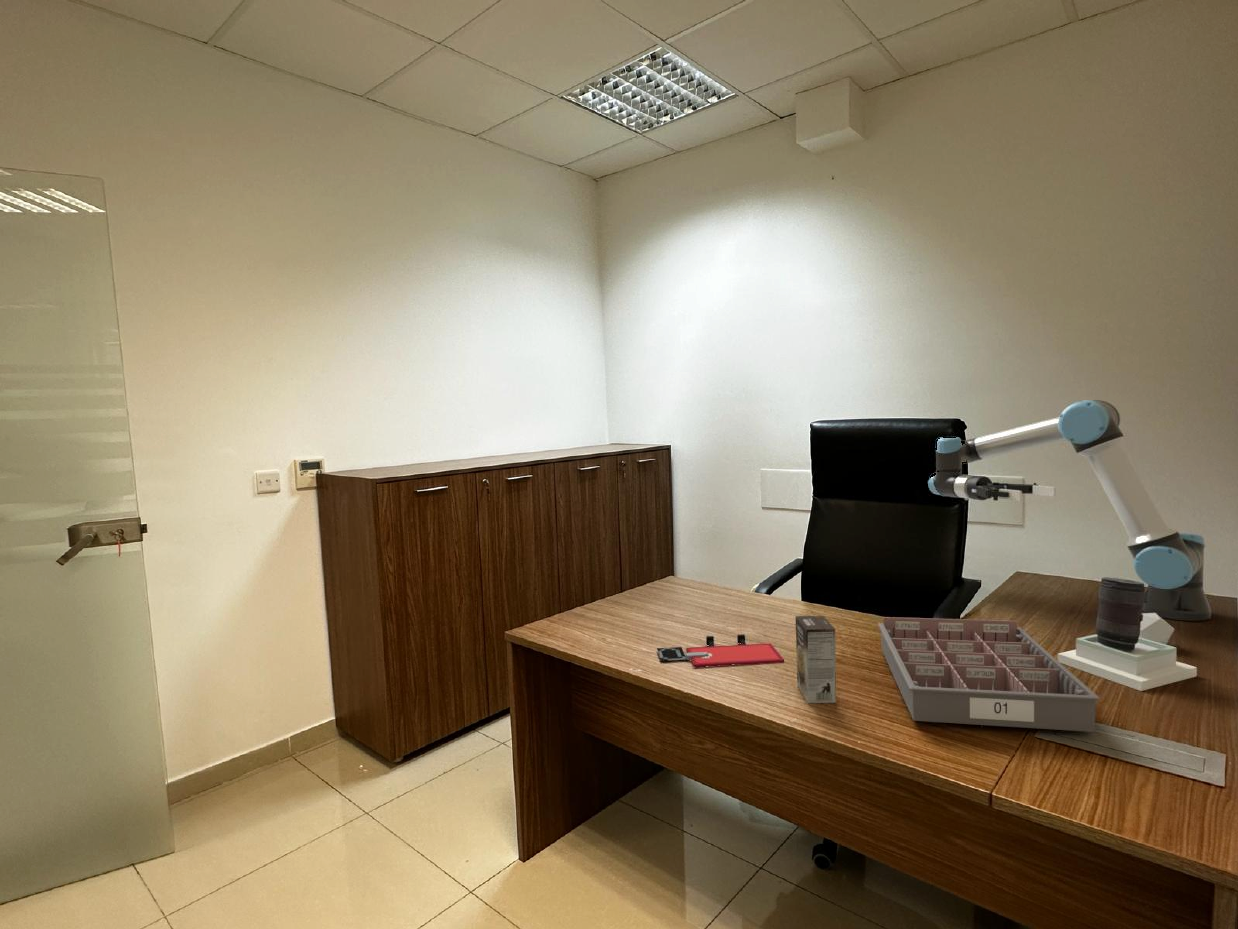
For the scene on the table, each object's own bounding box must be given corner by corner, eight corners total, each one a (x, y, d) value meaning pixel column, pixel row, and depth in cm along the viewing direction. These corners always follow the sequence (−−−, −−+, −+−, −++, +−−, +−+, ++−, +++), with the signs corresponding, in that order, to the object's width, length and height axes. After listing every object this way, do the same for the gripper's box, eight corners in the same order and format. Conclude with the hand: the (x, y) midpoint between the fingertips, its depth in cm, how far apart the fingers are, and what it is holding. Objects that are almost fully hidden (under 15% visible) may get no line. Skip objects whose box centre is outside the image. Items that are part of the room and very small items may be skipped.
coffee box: (796, 686, 146) (794, 615, 145) (825, 685, 146) (823, 614, 145) (806, 704, 137) (804, 629, 136) (837, 703, 137) (836, 628, 136)
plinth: (1110, 649, 159) (1110, 625, 159) (1196, 676, 142) (1197, 649, 142) (1057, 661, 153) (1057, 637, 153) (1140, 691, 136) (1141, 663, 136)
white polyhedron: (1175, 656, 155) (1186, 620, 157) (1139, 638, 156) (1151, 602, 159) (1148, 657, 163) (1159, 622, 165) (1114, 639, 164) (1126, 605, 166)
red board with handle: (655, 649, 173) (663, 671, 158) (655, 638, 173) (663, 660, 158) (766, 643, 175) (784, 665, 160) (766, 633, 175) (784, 654, 160)
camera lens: (1108, 640, 152) (1116, 576, 152) (1146, 651, 145) (1154, 584, 144) (1084, 640, 150) (1092, 575, 149) (1122, 651, 142) (1130, 583, 142)
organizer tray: (910, 729, 125) (909, 679, 124) (877, 653, 164) (877, 615, 163) (1101, 742, 117) (1102, 688, 117) (1020, 659, 156) (1020, 619, 155)
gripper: (1003, 496, 210) (1068, 503, 190) (944, 502, 201) (1006, 510, 182) (1003, 472, 209) (1068, 477, 190) (943, 478, 201) (1006, 484, 181)
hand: (1038, 493), depth 185 cm, fingers open, 13 cm apart
